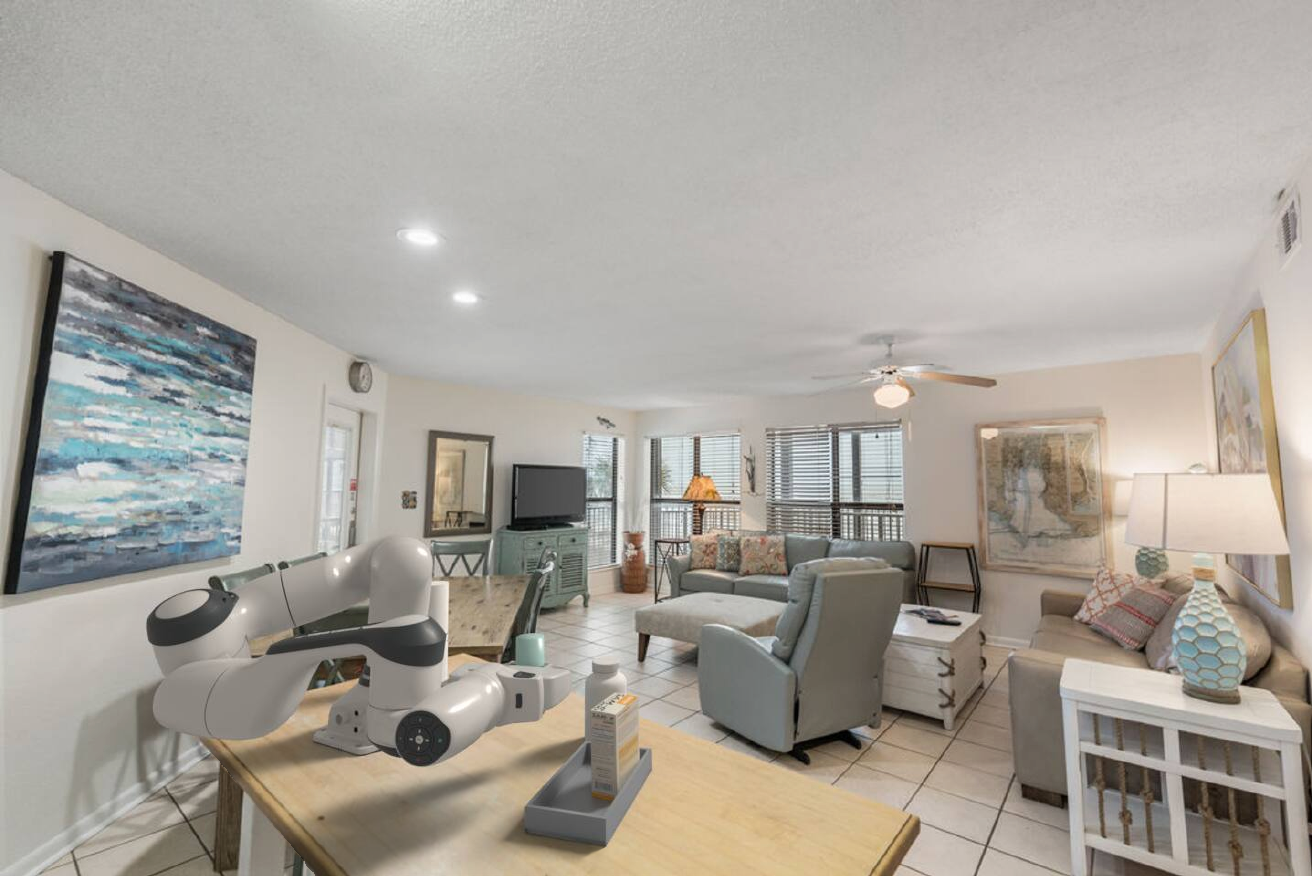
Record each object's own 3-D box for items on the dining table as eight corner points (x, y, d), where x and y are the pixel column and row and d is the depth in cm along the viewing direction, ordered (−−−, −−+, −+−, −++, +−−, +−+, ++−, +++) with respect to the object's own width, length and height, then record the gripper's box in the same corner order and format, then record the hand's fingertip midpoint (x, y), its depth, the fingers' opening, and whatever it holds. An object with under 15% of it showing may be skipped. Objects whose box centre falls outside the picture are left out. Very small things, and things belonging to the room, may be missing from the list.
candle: (510, 717, 97) (510, 639, 98) (524, 706, 102) (524, 632, 103) (536, 719, 96) (536, 641, 97) (549, 708, 100) (549, 633, 102)
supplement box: (615, 772, 94) (614, 690, 95) (641, 778, 92) (639, 694, 93) (589, 797, 86) (588, 708, 87) (617, 804, 84) (616, 713, 85)
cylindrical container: (410, 691, 136) (412, 585, 138) (426, 681, 143) (428, 580, 145) (437, 692, 135) (439, 585, 137) (452, 682, 142) (454, 581, 144)
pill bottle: (621, 752, 102) (620, 667, 104) (579, 749, 104) (578, 665, 105) (631, 733, 110) (630, 654, 111) (592, 731, 112) (591, 653, 113)
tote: (524, 832, 79) (524, 805, 79) (585, 761, 99) (585, 740, 99) (606, 846, 75) (605, 818, 76) (651, 769, 96) (651, 748, 96)
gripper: (431, 709, 90) (481, 680, 103) (548, 722, 84) (585, 689, 97) (432, 668, 90) (481, 644, 103) (547, 678, 85) (584, 652, 98)
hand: (532, 666), depth 100 cm, fingers closed on candle, 5 cm apart
